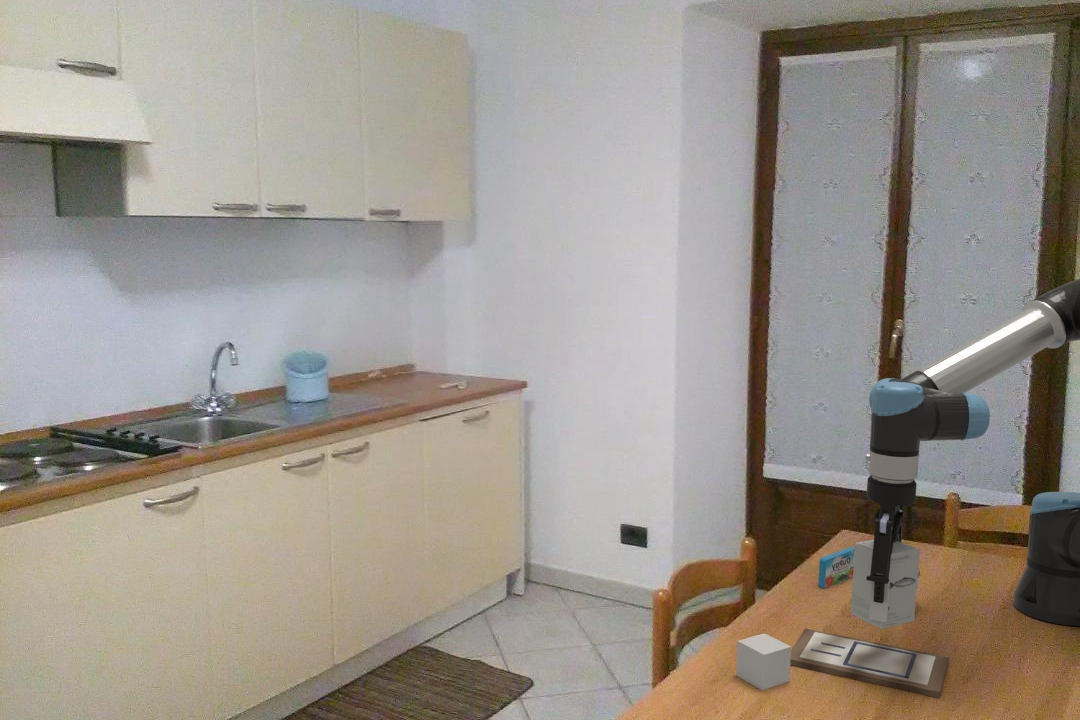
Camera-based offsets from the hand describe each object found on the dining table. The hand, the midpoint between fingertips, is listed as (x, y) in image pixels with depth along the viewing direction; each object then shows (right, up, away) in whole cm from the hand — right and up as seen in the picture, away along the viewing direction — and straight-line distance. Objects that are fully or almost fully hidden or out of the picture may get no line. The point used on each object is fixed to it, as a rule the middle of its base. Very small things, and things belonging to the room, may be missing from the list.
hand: (883, 608), depth 160 cm
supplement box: (0, -2, 0) cm, 2 cm away
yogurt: (+5, -5, +40) cm, 41 cm away
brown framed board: (-2, -10, +2) cm, 10 cm away
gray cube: (-21, -11, -3) cm, 24 cm away
